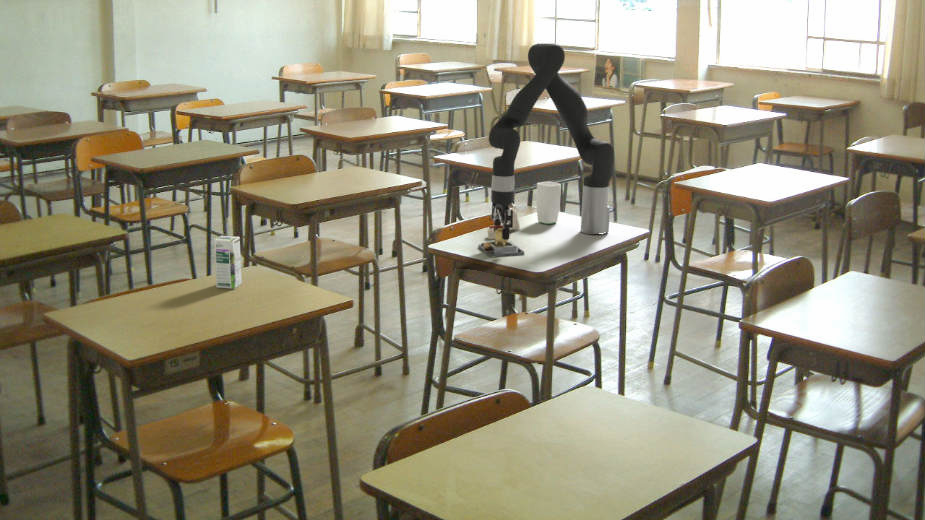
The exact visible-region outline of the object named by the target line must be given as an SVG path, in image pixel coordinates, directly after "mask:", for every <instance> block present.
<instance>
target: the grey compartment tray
mask: <svg viewBox="0 0 925 520" xmlns="http://www.w3.org/2000/svg"><path fill="white" fill-rule="evenodd" d="M478 247H479V250H480V251H482V252H483V251H484V252H485V254H486V255H487V256H488V257H489V256H490V258H492V257H491V256H496V257H508V256H507V255H511V256H521V255H523V256H524V255H525V251H524V250H523V249H522V248H520V247H519V246H517V245H516V244H515V243H513V242H512V241H510V239H508V246H499V247H495V240H491V241H490V240H487V241H486V242H482V243H480V244H478ZM478 247H477V248H478ZM484 252H483V253H484Z"/></svg>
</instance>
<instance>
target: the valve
mask: <svg viewBox="0 0 925 520" xmlns="http://www.w3.org/2000/svg"><path fill="white" fill-rule="evenodd" d="M489 228H490V229H492V228H498V229H496V230H495V239H494V241H495V247H499V246H508V240H509V239H508V240H504V239H503V238H502V234H503V227H502V224H501V225H498V226H494V225H489V226H488V229H489Z"/></svg>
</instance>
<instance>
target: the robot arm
mask: <svg viewBox="0 0 925 520" xmlns="http://www.w3.org/2000/svg"><path fill="white" fill-rule="evenodd" d="M527 53H528V54H527V60H528V64H529V66H530V68H531V70H532V72H533V73H534V74H535V75H534V76H533V78H531V79H530V80H529V82H527V84H525V85H524V86H523V87H522V88H521V89H520V90H519V91H518V92H517V93H516V94H515V96H514V97H513V99H512V101H511V102H510V104H509V106H508V108H507V110H506V112H504V114H503V115H502V116H501V117H500V118H499V119H498V120H497V122H496V123H495V124H494V125H493V126H492V128H491V129H490V132H489V133H488V143H489V144H490V146H491V147H493V148H494V149H500V150H502V153H501V155H498V156H496V157H494V158H493V160H492V178H491V187H490V188H491V190H490V191H491V192H490V194H491V195H490V202H491V203H492V204H491V220H493V226H498V225H502V227H503V234H502V238H503V239H504V240H510V234H511V233H510V231H511V230H510V228H512V227H513V210H510V205H512V204H513V203H514V202H515V182H516V181H515V163H516V159H517V155H518V152H519V148H520V145H521V136H520V134H519V132H518V131H517V129H515V128H519V127H523V126H524V125H525V123H526V122H527V120H528V118H529V117H530V114H531V112H532V110H533V108H534V106H535V105H536V103H537V102H538V100H539V99H540V97H541V96H542V94H543V93H544V91H545V90H546V92H547V94H548V95H549V97H550V99H551V101H552V102H553V104H554V106H555V109H556V110H557V112H558V114H559V116H560V118H561V120H562V121H563V122H564V124H565V126H566V128H567V130H568V132H569V134H570V135H571V138H572V140H573V142H574V145H575V148H576V150H577V151H578V152H577V153H578V155H579V157H580V159H581V160H582V162H583V163H585V164H587V165H589V166H592V168H591V169H592V170H591V173H590V174H588V175H585V176H584V177H583V182H582V201H581V202H582V203H581V216H580V218H581V219H580V232H581V234H582V233H583V234H586V235H590V234H599V233H604V232H610V231H609V229H610V213H611V207H610V206H609V194H610V193H609V192H610V181H611V180H612V176H613V171H614V170H613V169H614V162H615V161H614V160H615V151H614V147H613V145H612V143H610V142H608V141H603V140H600V139H596V138H595V136H594V135H593V133H592V132H591V130H590V128H589V126H588V114H589V113H588V108H587V105H586V104H585V102H584V100H583V98H582V95H581V94H580V92H579V91H578V90H577V89H576V88H575V87H574V86H572V85H571V83H569V82H568V81H567V80H566V79H564V78H563V77H562V76H561V74H559V71H560V70H561V68H562V67H563V65H564V63H565V58H566V56H565V54H566V53H565V50H564V48H563V47H562V46H561V45H560V44H557V43H535V44H533V45H532V46H530V48H529V50H528V52H527ZM496 229H498V228H494V233H495V230H496Z"/></svg>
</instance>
